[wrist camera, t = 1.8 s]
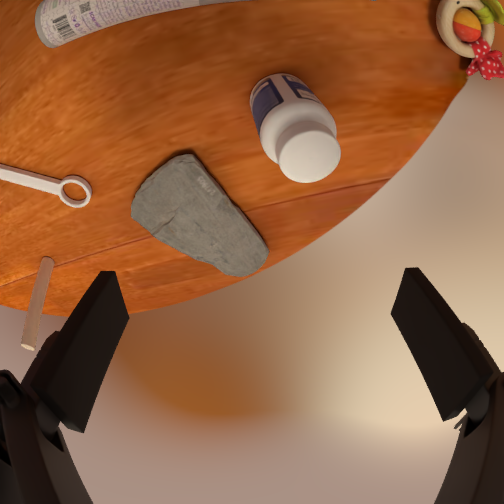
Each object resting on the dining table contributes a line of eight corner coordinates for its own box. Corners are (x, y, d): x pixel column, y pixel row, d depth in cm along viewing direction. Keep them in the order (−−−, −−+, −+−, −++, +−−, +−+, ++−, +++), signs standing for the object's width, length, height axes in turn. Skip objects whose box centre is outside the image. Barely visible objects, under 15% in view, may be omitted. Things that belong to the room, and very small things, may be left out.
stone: (284, 264, 38) (223, 290, 41) (281, 248, 40) (221, 274, 43) (185, 158, 23) (111, 211, 26) (186, 142, 25) (116, 194, 28)
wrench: (-62, 138, 14) (-58, 167, 17) (-65, 141, 14) (-61, 171, 17) (95, 178, 26) (89, 209, 29) (93, 182, 25) (87, 213, 29)
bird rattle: (424, -38, 10) (493, -10, 9) (412, 48, 20) (474, 62, 19) (463, -20, 7) (532, 17, 6) (439, 80, 18) (502, 96, 16)
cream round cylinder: (40, 258, 34) (18, 344, 26) (47, 255, 34) (25, 343, 26) (49, 266, 36) (29, 350, 28) (57, 263, 36) (37, 350, 27)
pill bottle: (258, 131, 25) (278, 200, 19) (240, 82, 21) (256, 135, 15) (313, 116, 24) (354, 180, 18) (302, 65, 20) (348, 111, 14)
